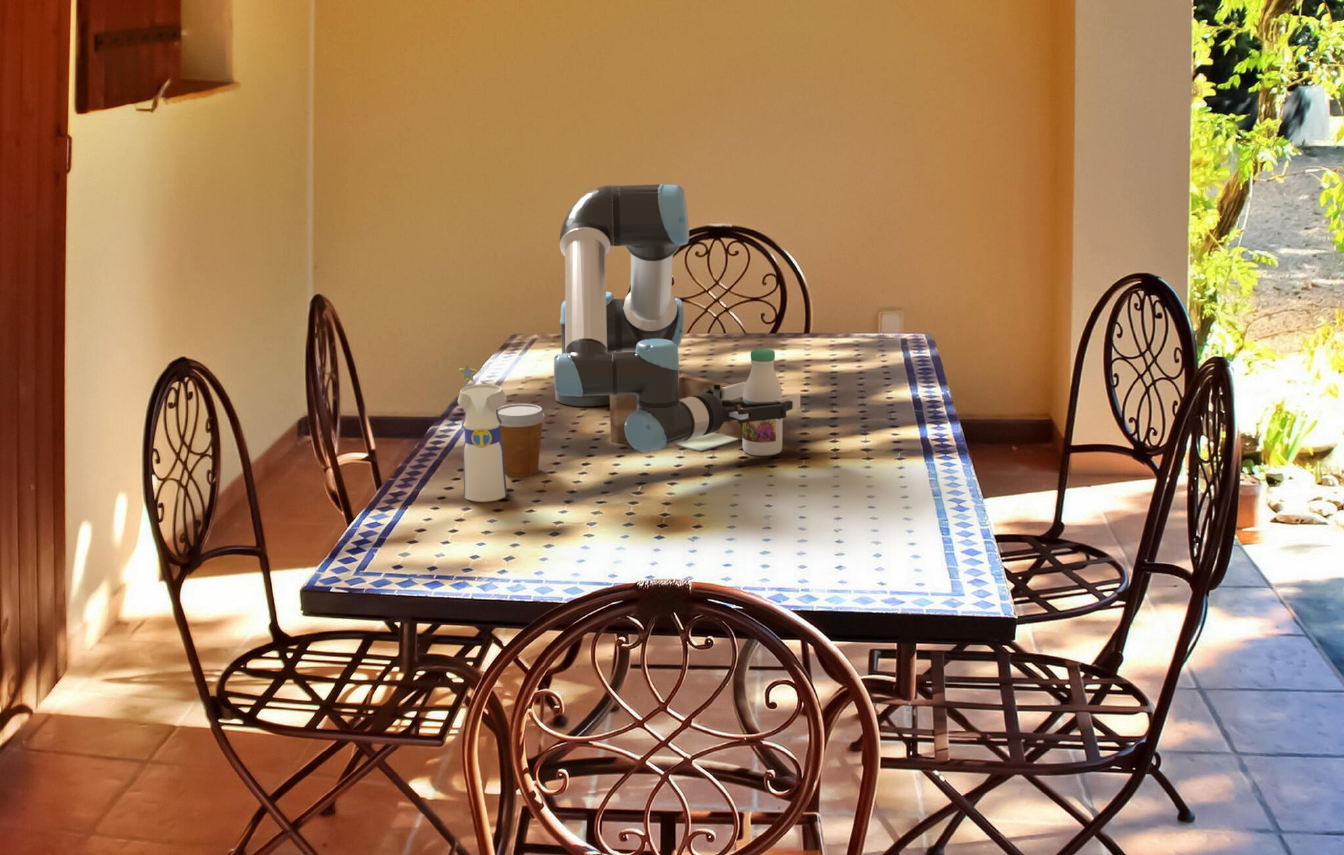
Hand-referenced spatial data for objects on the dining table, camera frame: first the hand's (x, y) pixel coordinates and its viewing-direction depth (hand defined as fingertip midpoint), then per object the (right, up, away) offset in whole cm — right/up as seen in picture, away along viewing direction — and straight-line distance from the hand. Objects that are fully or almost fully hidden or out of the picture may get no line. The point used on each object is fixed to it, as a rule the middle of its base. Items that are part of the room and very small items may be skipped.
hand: (771, 394), depth 278 cm
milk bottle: (-2, -11, +1) cm, 11 cm away
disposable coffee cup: (-48, -15, -9) cm, 51 cm away
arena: (-18, -9, +10) cm, 22 cm away
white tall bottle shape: (-52, -19, -22) cm, 60 cm away
